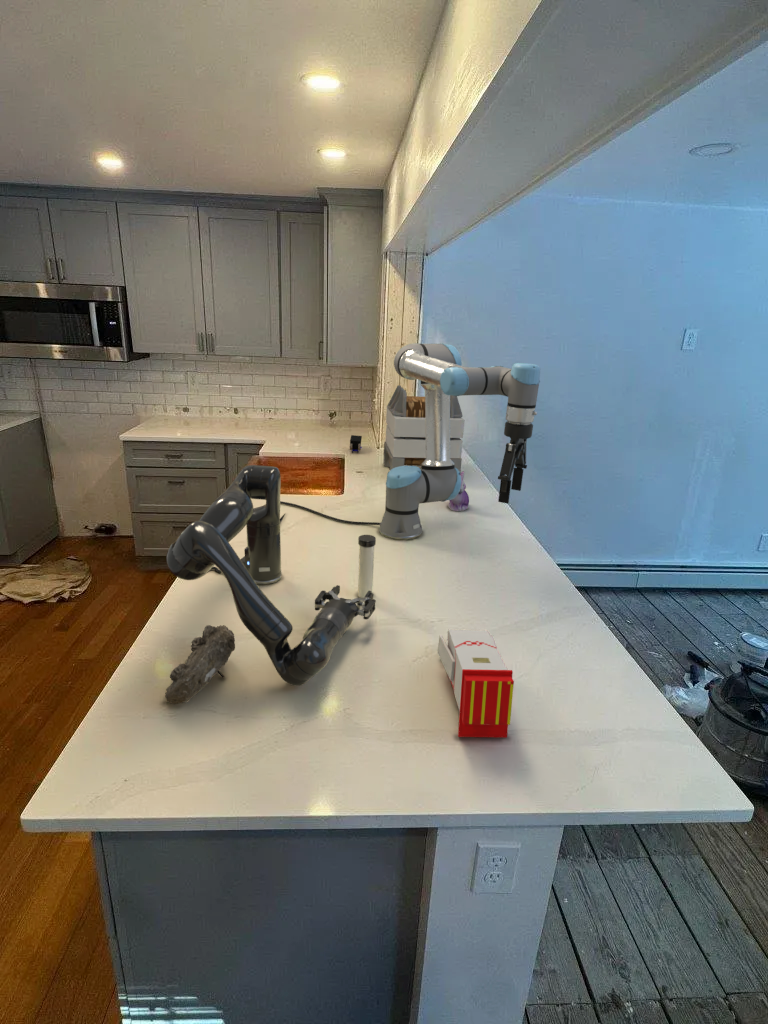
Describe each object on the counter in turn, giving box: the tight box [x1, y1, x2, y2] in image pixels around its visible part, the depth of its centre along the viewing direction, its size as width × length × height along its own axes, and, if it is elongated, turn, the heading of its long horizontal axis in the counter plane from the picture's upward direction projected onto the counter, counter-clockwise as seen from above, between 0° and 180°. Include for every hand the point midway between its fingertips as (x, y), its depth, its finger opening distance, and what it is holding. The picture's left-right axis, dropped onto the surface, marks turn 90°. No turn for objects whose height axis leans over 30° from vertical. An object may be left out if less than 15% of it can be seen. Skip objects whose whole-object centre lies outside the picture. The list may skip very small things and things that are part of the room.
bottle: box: [357, 544, 375, 599], centre depth 154 cm, size 4×4×17 cm
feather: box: [280, 513, 286, 523], centre depth 210 cm, size 2×28×2 cm
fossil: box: [165, 624, 236, 705], centre depth 118 cm, size 22×10×15 cm
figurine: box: [448, 470, 470, 512], centre depth 226 cm, size 9×10×15 cm
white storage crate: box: [383, 384, 465, 474], centre depth 268 cm, size 34×33×41 cm
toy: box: [437, 628, 515, 738], centre depth 117 cm, size 12×13×30 cm
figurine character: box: [349, 434, 363, 454], centre depth 310 cm, size 7×8×15 cm
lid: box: [357, 534, 377, 547], centre depth 151 cm, size 5×5×2 cm
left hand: (354, 591), depth 145 cm, fingers open, 8 cm apart
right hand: (509, 496), depth 162 cm, fingers open, 13 cm apart
